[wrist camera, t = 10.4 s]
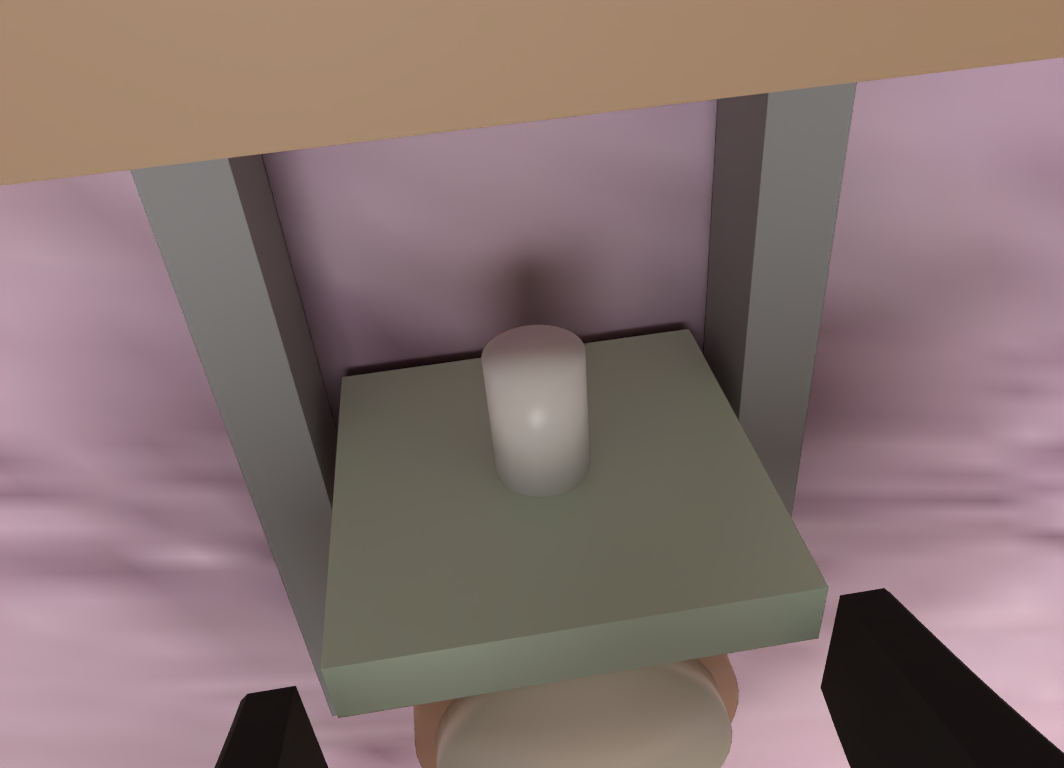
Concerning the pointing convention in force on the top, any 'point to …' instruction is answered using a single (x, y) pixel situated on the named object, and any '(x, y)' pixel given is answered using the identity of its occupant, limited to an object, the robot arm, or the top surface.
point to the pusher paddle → (550, 523)
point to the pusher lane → (448, 105)
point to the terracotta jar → (589, 721)
